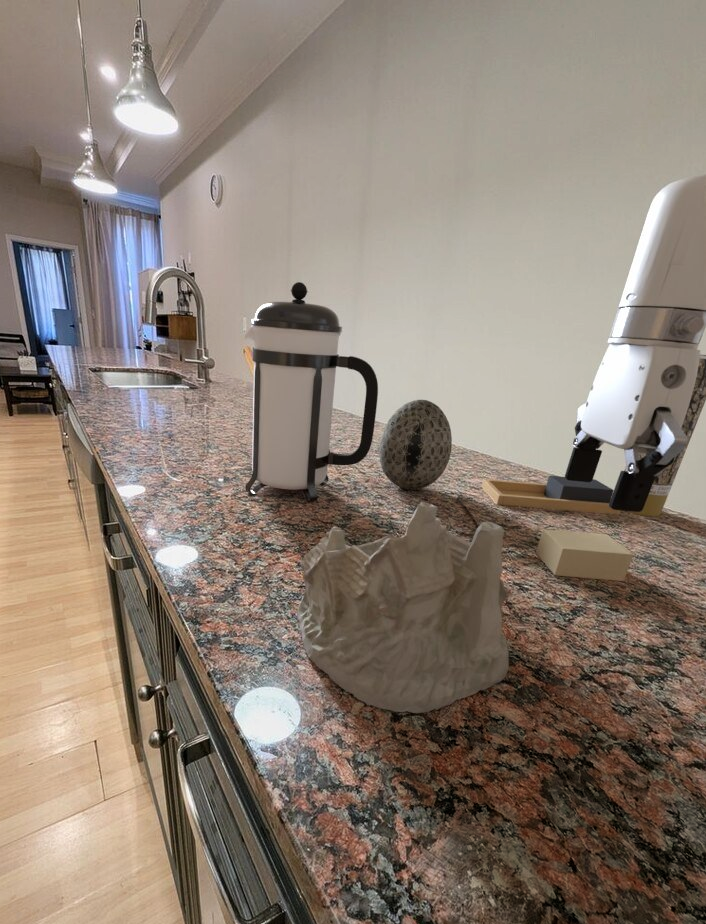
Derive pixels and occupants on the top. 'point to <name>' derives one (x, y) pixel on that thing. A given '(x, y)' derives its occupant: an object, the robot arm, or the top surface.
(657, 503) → the paper tube
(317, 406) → the coffee press
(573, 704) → the top surface
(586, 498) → the charcoal pad
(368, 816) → the top surface
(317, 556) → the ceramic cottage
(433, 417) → the decorative egg
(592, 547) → the beige pad
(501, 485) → the tray
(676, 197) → the robot arm
